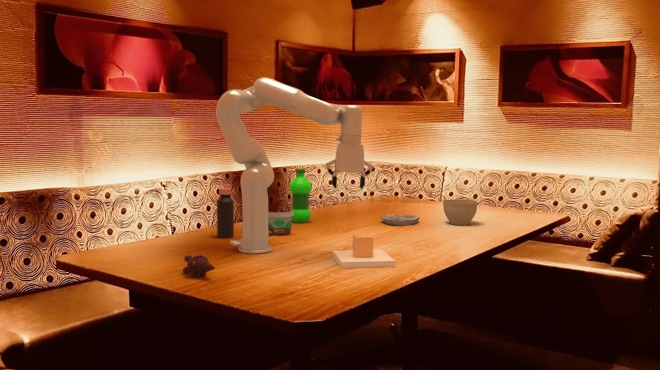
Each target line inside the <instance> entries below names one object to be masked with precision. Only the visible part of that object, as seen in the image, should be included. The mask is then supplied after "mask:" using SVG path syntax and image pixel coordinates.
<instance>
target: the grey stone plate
mask: <svg viewBox="0 0 660 370" xmlns="http://www.w3.org/2000/svg"><path fill="white" fill-rule="evenodd" d="M380 218H381V219H382V221H383V222H384V223H385V224H386V225H388V226H393V227H394V226H395V227H396V226H397V227H398V226H399V227H402V226H410V225H411V226H413V225H415V224H417V223H418V222H420V221H419V220H420V218H421V217H420V216H418V215H413V214H386V215H380Z"/></svg>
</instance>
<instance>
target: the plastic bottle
mask: <svg viewBox="0 0 660 370" xmlns="http://www.w3.org/2000/svg"><path fill="white" fill-rule="evenodd" d="M295 173H296V174H297V175H296V177H295V178H294V179H293V180H291V182H290V183H289V192H291V210H290V212H291V211H292V210H293V213H294V216H292V221H294V223H296V222H298V223H297V224H303V222H305V223H307V222H308V221H309V220H310V218H311V216H312V212H311V209H310V193H311V192H312V190H313V187H312V186H313V185H312V183H311V182H310V180H308V179H307V178H306V177H305V174H306V168H296V169H295Z"/></svg>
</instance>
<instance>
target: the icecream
mask: <svg viewBox="0 0 660 370" xmlns="http://www.w3.org/2000/svg"><path fill="white" fill-rule="evenodd" d="M183 259H184V262H186V263H187V264H186V266H185V267H183V269H182V273H184V274H190V275H191V276H193V277H196V278H201V277H204V276H206V274H207V273H208V272H210V271H212V270H215V269H216V267H215V266H214V265H212V263H210V262H209V261H208V258H207V257H206V256H204V255H202V254H200V255H194V256H192V255H187V254H186V255H185V256H184V258H183Z"/></svg>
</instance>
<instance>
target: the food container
mask: <svg viewBox="0 0 660 370" xmlns="http://www.w3.org/2000/svg"><path fill="white" fill-rule="evenodd" d="M292 216H294V213H293V210H292V211H291V210H290V211H285V212H284V211H276V212H273V211H268V235H269V234H270V236H273V235H277V236H276V237H284V236H285V235H286V236H290V235H291V234H292V233H291V230H292V225H293V224H292V223H293V219H292Z"/></svg>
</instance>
